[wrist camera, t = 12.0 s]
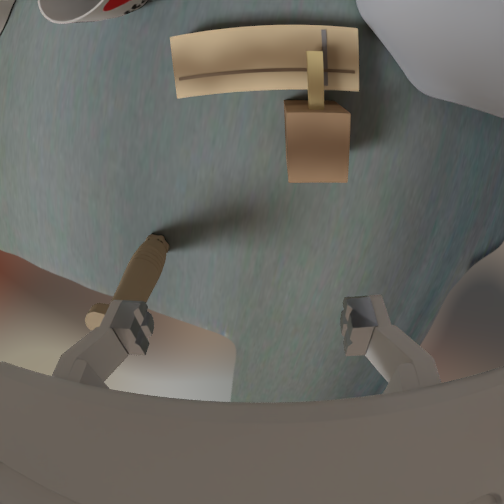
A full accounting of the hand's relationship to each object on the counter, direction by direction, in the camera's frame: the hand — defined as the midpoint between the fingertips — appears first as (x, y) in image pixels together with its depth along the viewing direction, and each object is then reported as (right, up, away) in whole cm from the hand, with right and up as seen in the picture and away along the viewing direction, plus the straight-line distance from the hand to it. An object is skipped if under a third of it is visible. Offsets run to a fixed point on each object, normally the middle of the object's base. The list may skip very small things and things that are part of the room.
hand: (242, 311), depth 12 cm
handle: (-12, +4, +26) cm, 29 cm away
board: (+2, +21, +12) cm, 24 cm away
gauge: (+6, +17, +15) cm, 23 cm away
